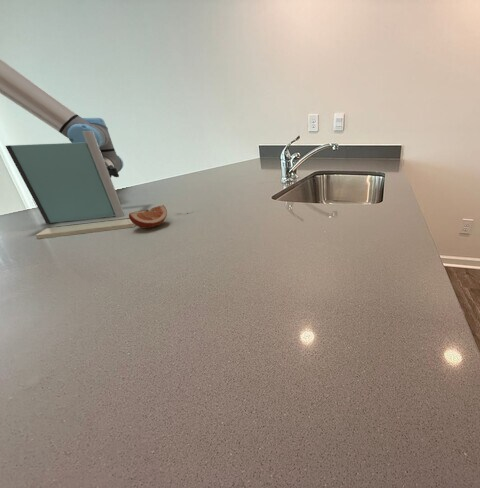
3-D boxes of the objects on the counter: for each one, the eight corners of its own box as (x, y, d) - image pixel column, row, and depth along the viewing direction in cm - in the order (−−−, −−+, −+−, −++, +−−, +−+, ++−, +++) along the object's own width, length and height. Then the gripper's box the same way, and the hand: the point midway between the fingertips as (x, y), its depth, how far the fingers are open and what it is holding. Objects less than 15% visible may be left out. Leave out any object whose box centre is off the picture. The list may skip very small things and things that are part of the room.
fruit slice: (163, 219, 72) (157, 202, 70) (176, 224, 69) (171, 206, 66) (130, 229, 66) (122, 211, 64) (142, 235, 62) (135, 215, 60)
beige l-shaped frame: (37, 239, 62) (-21, 135, 52) (71, 217, 75) (30, 132, 65) (133, 227, 67) (98, 131, 57) (149, 209, 81) (122, 129, 71)
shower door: (46, 223, 67) (5, 145, 59) (65, 212, 75) (31, 142, 67) (114, 215, 71) (84, 142, 63) (125, 206, 79) (100, 140, 71)
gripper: (142, 176, 93) (122, 189, 75) (56, 182, 86) (11, 198, 68) (134, 154, 90) (112, 162, 72) (45, 159, 83) (-5, 169, 65)
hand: (63, 180), depth 70 cm, fingers open, 13 cm apart
